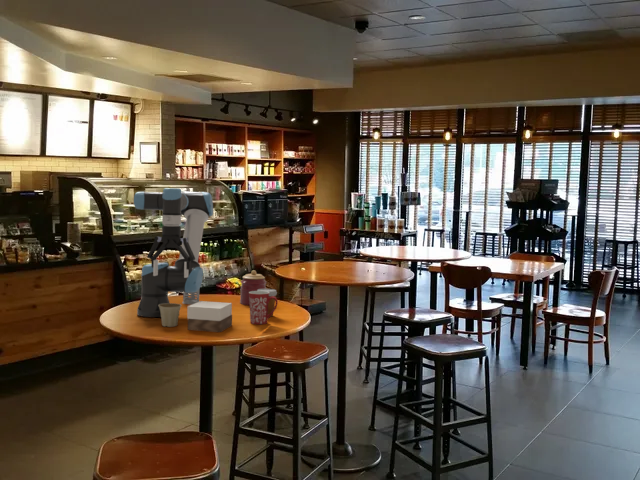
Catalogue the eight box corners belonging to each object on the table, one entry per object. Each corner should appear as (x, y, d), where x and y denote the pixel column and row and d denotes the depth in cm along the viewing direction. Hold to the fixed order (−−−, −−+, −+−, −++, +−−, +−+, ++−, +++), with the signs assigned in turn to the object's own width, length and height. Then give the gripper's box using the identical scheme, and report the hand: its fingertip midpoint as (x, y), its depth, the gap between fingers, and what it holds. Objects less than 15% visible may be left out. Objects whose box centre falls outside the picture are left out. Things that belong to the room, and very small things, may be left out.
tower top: (187, 318, 259) (187, 306, 258) (200, 312, 272) (200, 301, 272) (219, 320, 256) (220, 308, 256) (231, 314, 270) (231, 303, 269)
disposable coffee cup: (273, 318, 287) (273, 292, 286) (253, 317, 289) (253, 290, 288) (278, 314, 297) (279, 289, 296) (259, 313, 298) (259, 288, 298)
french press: (199, 305, 314) (200, 255, 312) (175, 304, 314) (176, 254, 312) (203, 302, 324) (203, 253, 322) (180, 301, 324) (181, 252, 322)
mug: (245, 324, 273) (246, 293, 272) (250, 320, 282) (251, 290, 281) (274, 326, 271) (275, 294, 270) (278, 321, 280) (279, 291, 279)
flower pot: (186, 325, 267) (186, 305, 267) (169, 329, 259) (169, 308, 259) (170, 322, 272) (170, 302, 272) (153, 325, 264) (153, 305, 264)
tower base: (187, 330, 259) (187, 318, 259) (200, 324, 273) (201, 312, 272) (220, 333, 256) (220, 321, 256) (231, 326, 270) (232, 314, 270)
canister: (262, 308, 313) (262, 272, 311) (236, 306, 315) (237, 271, 313) (268, 303, 325) (269, 269, 324) (244, 302, 328) (245, 268, 326)
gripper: (139, 224, 261) (138, 275, 263) (196, 227, 257) (195, 279, 258) (147, 223, 269) (147, 273, 270) (203, 226, 264) (202, 276, 266)
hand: (170, 276), depth 264 cm, fingers open, 13 cm apart
